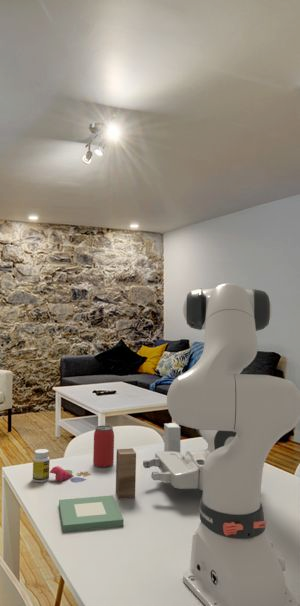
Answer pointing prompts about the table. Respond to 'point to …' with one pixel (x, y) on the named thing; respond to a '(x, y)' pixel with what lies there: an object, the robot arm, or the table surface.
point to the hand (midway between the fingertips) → (147, 470)
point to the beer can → (103, 446)
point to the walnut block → (125, 473)
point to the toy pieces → (67, 474)
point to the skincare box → (171, 437)
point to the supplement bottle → (41, 465)
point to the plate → (89, 513)
